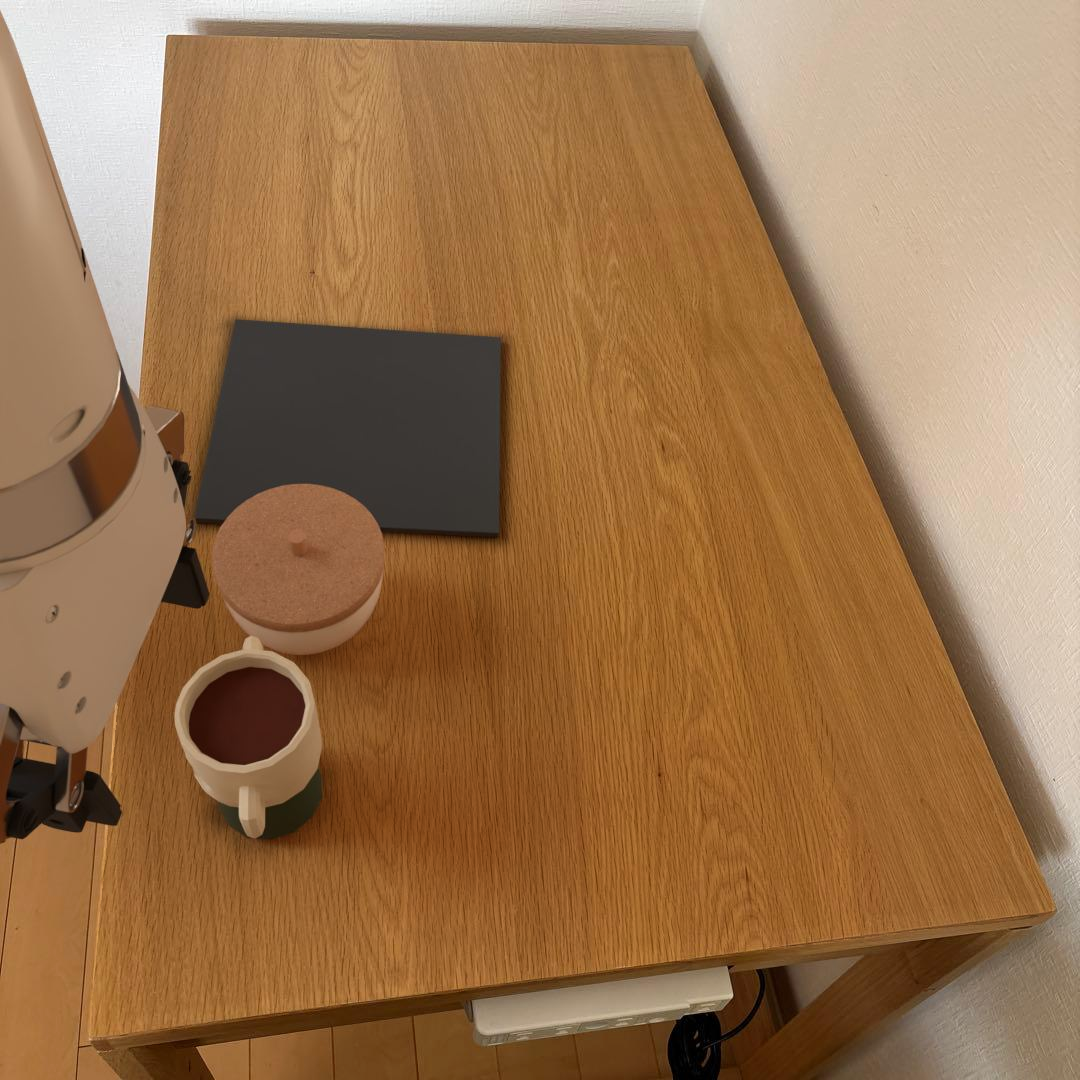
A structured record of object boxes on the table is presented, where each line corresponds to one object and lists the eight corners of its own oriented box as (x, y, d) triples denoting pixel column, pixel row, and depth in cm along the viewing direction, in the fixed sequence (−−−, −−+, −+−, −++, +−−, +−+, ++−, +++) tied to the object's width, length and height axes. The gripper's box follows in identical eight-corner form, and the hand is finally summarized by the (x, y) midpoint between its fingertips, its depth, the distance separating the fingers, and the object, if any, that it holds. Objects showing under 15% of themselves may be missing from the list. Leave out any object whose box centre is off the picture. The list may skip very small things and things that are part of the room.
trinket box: (216, 564, 72) (193, 486, 65) (365, 531, 75) (361, 452, 67) (244, 698, 67) (223, 630, 59) (403, 657, 70) (403, 588, 62)
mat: (195, 522, 74) (193, 518, 74) (236, 324, 85) (235, 318, 85) (498, 537, 76) (499, 533, 76) (500, 341, 87) (500, 337, 87)
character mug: (216, 717, 66) (179, 620, 55) (328, 708, 67) (313, 612, 57) (209, 889, 60) (167, 818, 50) (332, 876, 62) (317, 803, 51)
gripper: (-3, 200, 32) (121, 510, 47) (-357, 691, 23) (-65, 893, 37) (230, 246, 32) (283, 542, 47) (-25, 756, 23) (140, 933, 37)
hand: (129, 697), depth 42 cm, fingers open, 9 cm apart
